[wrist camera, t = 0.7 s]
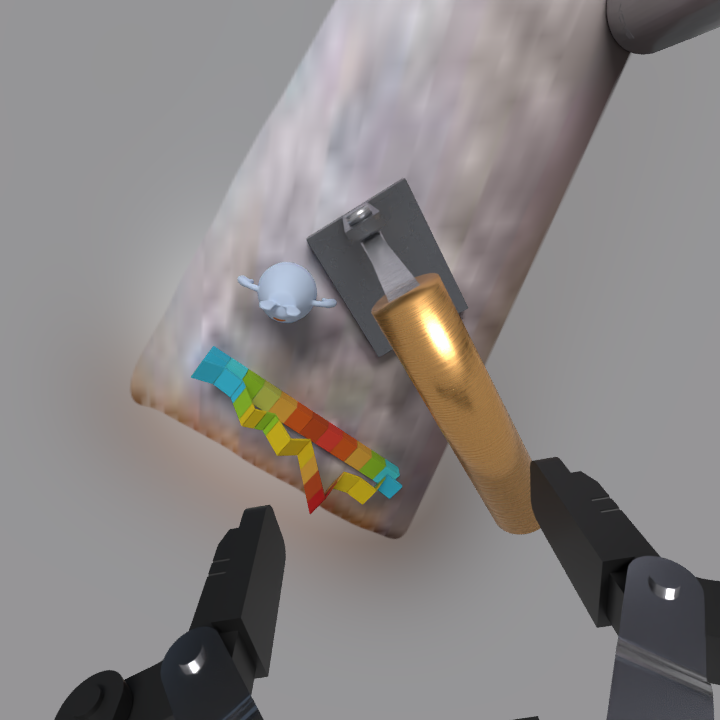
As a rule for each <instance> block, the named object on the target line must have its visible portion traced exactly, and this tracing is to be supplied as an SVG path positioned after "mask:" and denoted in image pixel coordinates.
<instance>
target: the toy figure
mask: <svg viewBox="0 0 720 720" xmlns="http://www.w3.org/2000/svg"><path fill="white" fill-rule="evenodd" d="M238 282H239V283H240V284H241V285H242V286H244V287H247V288H249V289H252V290H254V291H257V292H258V299H259V307H260V308H262V309H263V310H264V312H265V313H266V314H267V315H268V316H269V317H270V318H271V319H273V320H275V321H277V322H281V323H293V322H296V321H297V320H299V319H301V318H303V317H304V316H306V315H307V314H308V313H309V312H310V311H311V309H312V308H313V306H317V307H326V308H332V307H334V306H336V304H337V302H336V300H334V299H326V298H323V299H322V301H316V296H317V289H316V284H315V281H314V279H313V277H312V276H311V274H310V273H309V272H308V271H307V270H306V269H305V268H303V267H302V266H300V265H298V264H295V263H291V262H282V263H278V264H275V265H273V266H271V267H270V268H268V269H267V270H266V271H265V272H264V273H263V275H262V276H261V278H260V281H259V284H258V286H257V285H254V284H253V283H254V281H253V280H252V279H248V278H247V277H245V276H239V277H238Z"/></svg>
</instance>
